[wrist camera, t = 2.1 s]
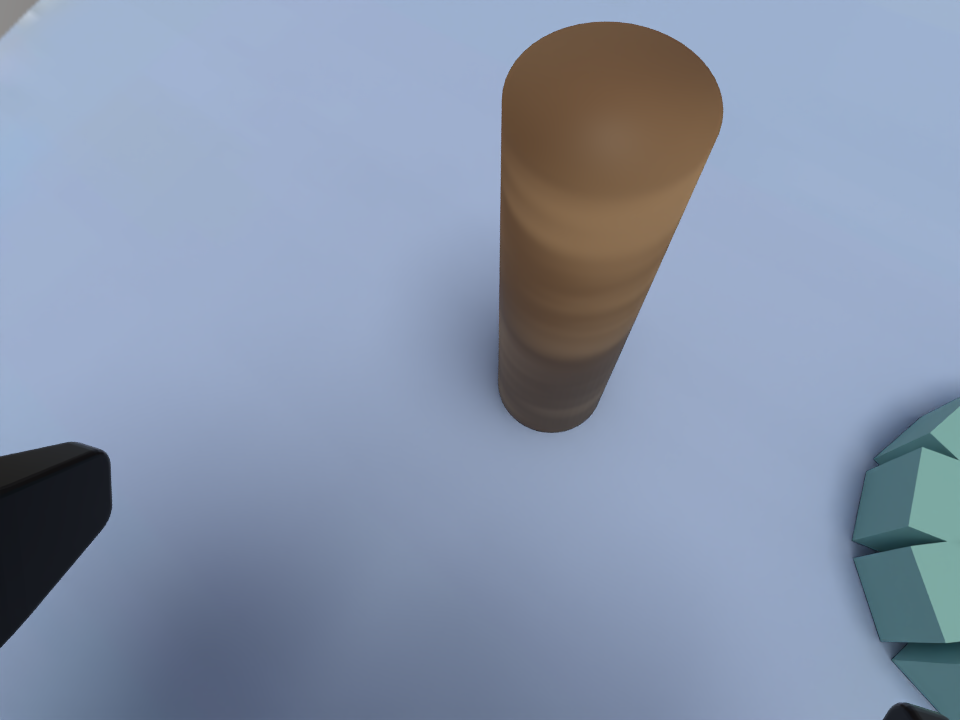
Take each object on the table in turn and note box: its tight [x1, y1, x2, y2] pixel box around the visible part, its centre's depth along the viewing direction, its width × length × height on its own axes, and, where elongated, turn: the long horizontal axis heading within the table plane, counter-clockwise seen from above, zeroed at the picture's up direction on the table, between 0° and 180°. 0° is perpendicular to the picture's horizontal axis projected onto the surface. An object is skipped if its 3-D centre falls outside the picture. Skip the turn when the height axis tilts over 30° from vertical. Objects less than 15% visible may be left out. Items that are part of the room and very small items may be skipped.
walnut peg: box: [498, 22, 723, 433], centre depth 17 cm, size 4×4×13 cm
